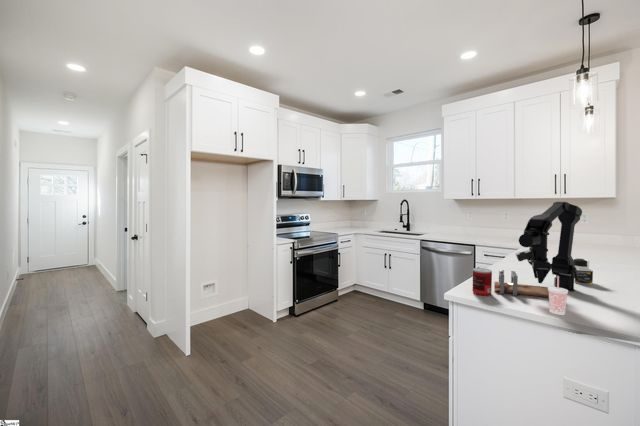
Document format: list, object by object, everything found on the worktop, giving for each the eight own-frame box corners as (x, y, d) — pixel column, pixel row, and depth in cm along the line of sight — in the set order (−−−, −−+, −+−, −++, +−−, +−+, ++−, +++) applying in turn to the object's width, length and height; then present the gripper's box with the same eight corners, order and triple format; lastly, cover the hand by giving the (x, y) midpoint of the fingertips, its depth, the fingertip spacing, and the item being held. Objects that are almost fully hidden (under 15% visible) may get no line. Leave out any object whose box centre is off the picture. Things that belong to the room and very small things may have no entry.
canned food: (489, 291, 139) (489, 268, 138) (493, 297, 131) (493, 272, 131) (471, 290, 141) (471, 267, 141) (473, 295, 134) (474, 271, 133)
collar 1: (502, 288, 142) (503, 268, 142) (504, 294, 134) (505, 272, 133) (497, 288, 143) (498, 267, 143) (499, 294, 135) (499, 272, 134)
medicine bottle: (574, 283, 150) (575, 260, 150) (569, 279, 157) (569, 257, 156) (592, 284, 148) (593, 261, 147) (586, 281, 154) (587, 258, 154)
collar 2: (514, 290, 140) (515, 271, 140) (517, 296, 131) (517, 276, 131) (510, 289, 141) (511, 271, 141) (513, 295, 132) (513, 276, 132)
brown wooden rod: (548, 294, 132) (549, 285, 131) (550, 299, 128) (551, 290, 127) (494, 288, 142) (494, 279, 141) (494, 292, 138) (494, 284, 137)
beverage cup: (543, 309, 116) (544, 274, 115) (559, 309, 116) (560, 274, 115) (554, 315, 110) (556, 278, 109) (571, 315, 110) (573, 278, 109)
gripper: (514, 241, 143) (514, 273, 144) (519, 247, 126) (518, 283, 127) (543, 243, 138) (542, 276, 138) (552, 249, 121) (551, 287, 122)
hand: (538, 280), depth 132 cm, fingers open, 9 cm apart
